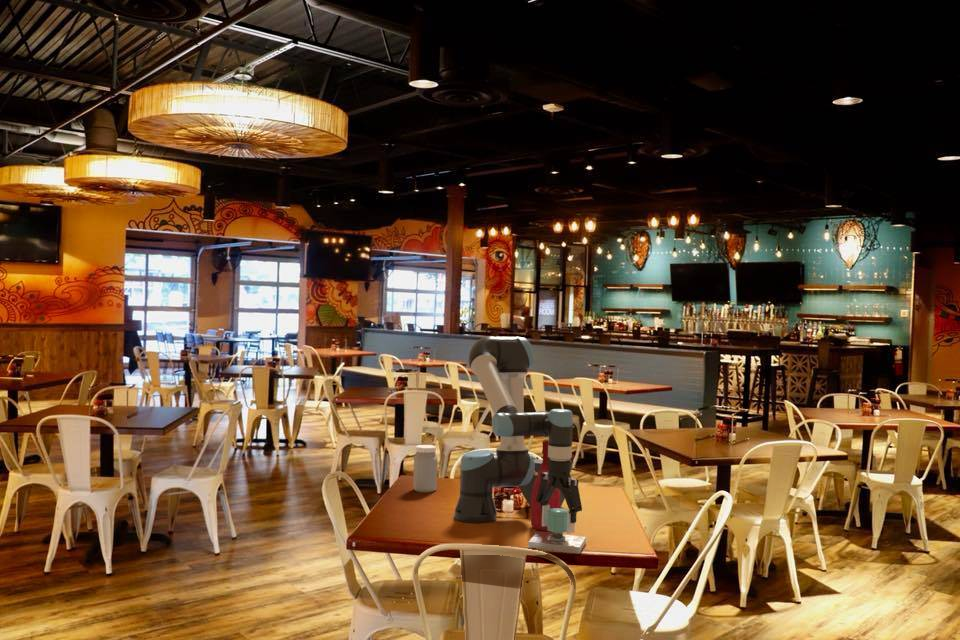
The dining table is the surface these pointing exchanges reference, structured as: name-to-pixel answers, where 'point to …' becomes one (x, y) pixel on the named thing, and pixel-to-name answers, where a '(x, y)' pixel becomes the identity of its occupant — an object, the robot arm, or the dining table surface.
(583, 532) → the dining table surface
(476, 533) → the dining table surface
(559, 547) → the stud base
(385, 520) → the dining table surface
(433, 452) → the jar
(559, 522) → the cap
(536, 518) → the wine bottle
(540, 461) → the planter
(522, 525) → the dining table surface
